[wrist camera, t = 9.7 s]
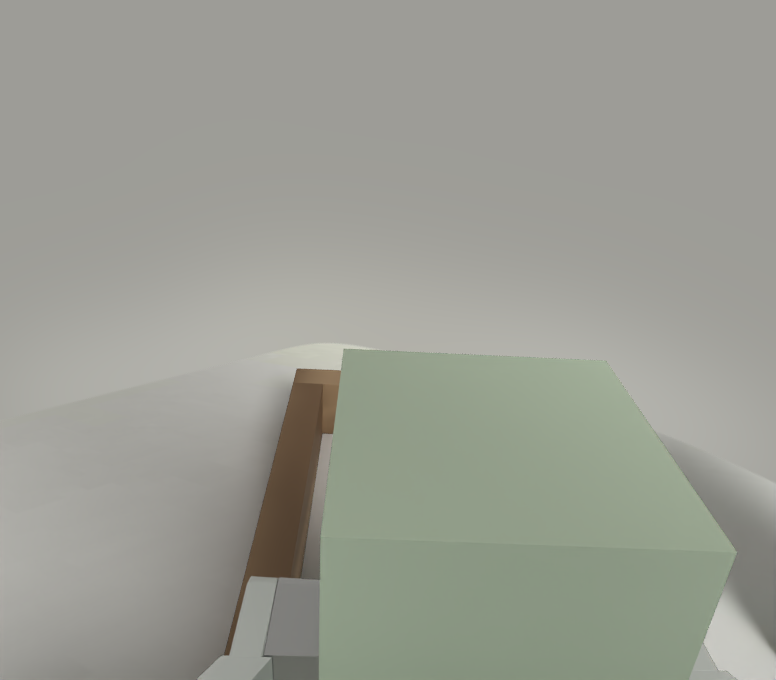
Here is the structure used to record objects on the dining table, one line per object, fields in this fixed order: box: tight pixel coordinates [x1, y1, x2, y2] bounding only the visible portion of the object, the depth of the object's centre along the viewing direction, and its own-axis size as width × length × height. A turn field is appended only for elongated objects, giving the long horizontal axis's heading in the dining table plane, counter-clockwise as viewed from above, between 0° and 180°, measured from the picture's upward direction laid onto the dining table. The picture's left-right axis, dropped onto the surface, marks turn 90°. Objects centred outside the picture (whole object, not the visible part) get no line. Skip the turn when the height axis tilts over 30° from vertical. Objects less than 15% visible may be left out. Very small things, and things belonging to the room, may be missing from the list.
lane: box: [224, 369, 341, 656], centre depth 27 cm, size 11×18×3 cm, turn 0°
